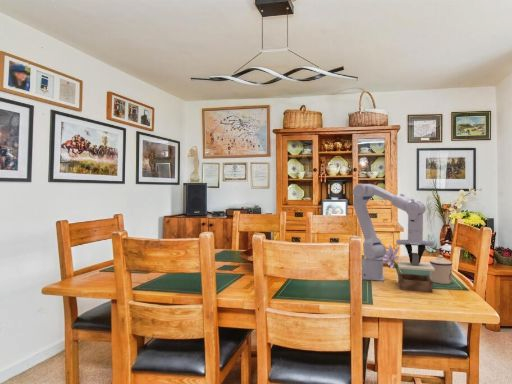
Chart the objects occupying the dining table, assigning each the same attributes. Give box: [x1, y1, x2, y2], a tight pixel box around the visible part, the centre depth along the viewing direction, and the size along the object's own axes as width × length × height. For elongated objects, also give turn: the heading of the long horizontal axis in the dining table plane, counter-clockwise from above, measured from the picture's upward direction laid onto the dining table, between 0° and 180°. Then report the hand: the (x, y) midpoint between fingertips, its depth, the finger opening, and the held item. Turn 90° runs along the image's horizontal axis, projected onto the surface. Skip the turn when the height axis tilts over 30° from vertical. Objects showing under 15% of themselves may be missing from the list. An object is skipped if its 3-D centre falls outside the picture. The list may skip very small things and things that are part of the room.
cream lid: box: [396, 252, 435, 272], centre depth 151 cm, size 13×13×6 cm
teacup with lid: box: [429, 254, 453, 285], centre depth 162 cm, size 12×9×12 cm
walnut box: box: [397, 272, 434, 293], centre depth 151 cm, size 12×12×4 cm
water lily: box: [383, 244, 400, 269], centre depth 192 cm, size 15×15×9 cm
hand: (414, 262), depth 151 cm, fingers closed on cream lid, 2 cm apart
